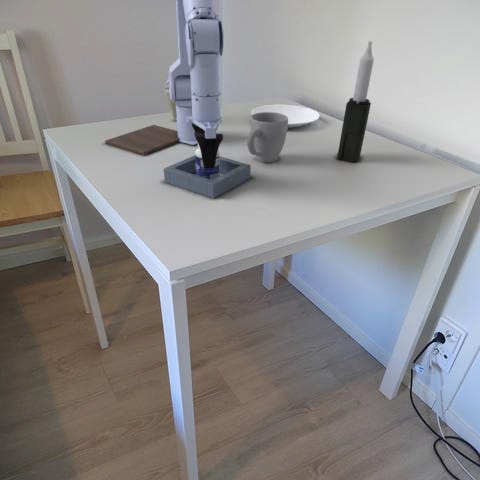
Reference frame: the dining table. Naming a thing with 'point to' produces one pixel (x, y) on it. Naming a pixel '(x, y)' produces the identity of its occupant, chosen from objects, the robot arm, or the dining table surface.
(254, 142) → the mug
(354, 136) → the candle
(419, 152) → the dining table surface
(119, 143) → the board
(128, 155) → the dining table surface
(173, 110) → the ice cream cone
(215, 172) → the pill bottle
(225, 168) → the square frame
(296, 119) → the plate
